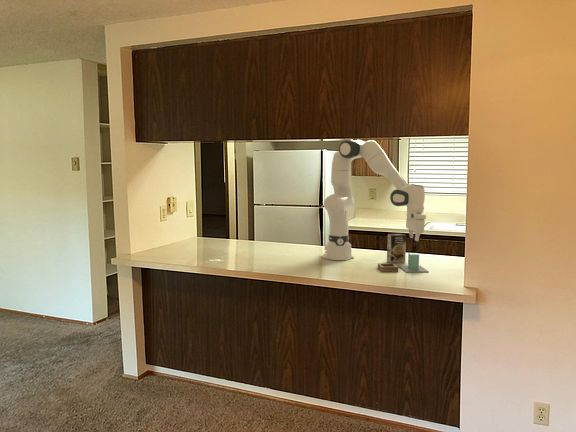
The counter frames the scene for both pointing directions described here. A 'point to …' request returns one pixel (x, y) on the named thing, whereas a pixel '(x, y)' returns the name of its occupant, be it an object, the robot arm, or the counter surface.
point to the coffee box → (396, 248)
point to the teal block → (413, 261)
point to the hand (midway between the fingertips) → (413, 239)
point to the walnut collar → (388, 267)
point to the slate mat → (414, 270)
